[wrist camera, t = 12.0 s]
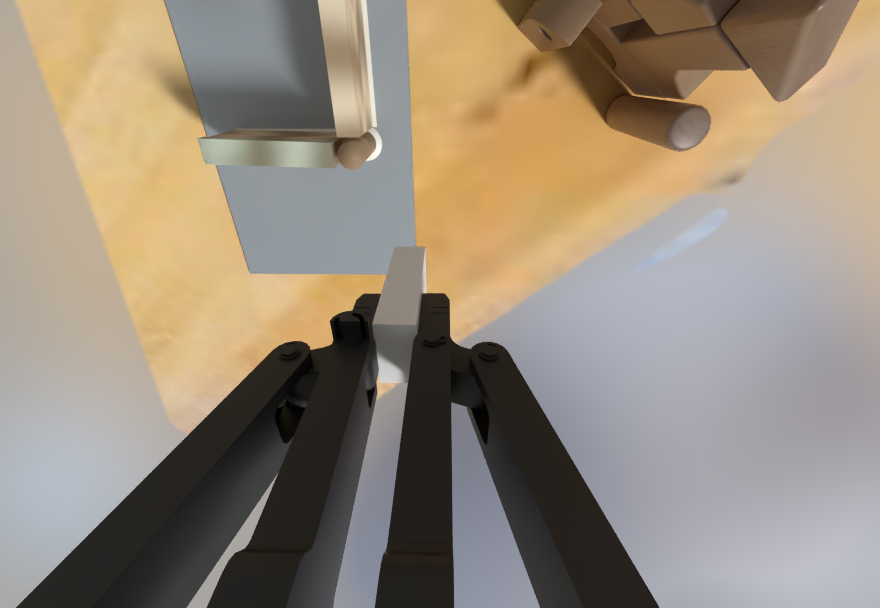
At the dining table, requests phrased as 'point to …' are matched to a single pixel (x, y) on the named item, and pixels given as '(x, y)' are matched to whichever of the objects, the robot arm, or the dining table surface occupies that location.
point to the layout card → (309, 110)
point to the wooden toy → (692, 51)
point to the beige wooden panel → (348, 78)
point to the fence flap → (272, 148)
